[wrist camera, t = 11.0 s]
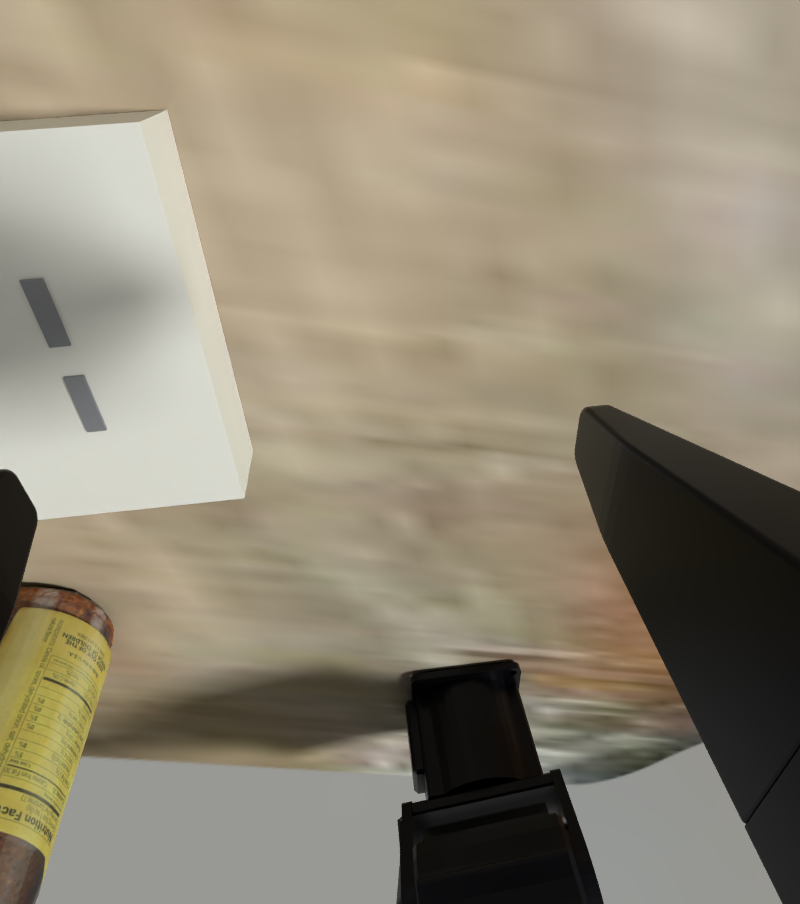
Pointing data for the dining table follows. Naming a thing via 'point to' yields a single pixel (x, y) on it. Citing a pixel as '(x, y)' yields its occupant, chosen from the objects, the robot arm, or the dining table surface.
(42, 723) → the sauce bottle
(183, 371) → the socket plate
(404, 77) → the dining table surface
